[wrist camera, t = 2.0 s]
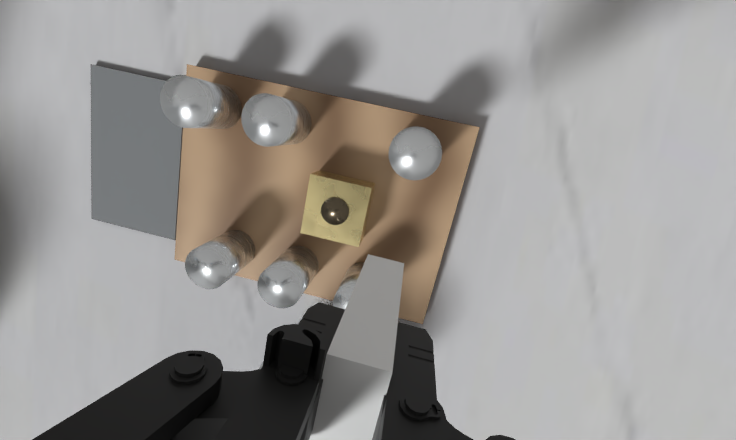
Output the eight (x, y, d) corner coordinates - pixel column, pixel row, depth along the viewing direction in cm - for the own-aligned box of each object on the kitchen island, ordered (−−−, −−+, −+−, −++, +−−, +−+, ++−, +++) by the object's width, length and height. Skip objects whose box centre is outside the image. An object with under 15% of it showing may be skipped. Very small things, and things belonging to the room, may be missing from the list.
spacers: (190, 253, 30) (151, 274, 25) (203, 80, 26) (161, 70, 22) (396, 307, 28) (393, 338, 24) (442, 133, 25) (448, 132, 20)
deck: (182, 255, 31) (174, 259, 30) (195, 66, 27) (187, 64, 26) (422, 317, 29) (422, 324, 28) (477, 127, 25) (479, 127, 24)
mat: (95, 217, 31) (91, 218, 31) (95, 65, 28) (90, 64, 27) (177, 238, 31) (174, 240, 30) (187, 85, 27) (184, 84, 27)
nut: (310, 224, 28) (300, 233, 25) (319, 170, 26) (309, 174, 24) (363, 237, 27) (358, 247, 25) (375, 183, 26) (371, 188, 24)
